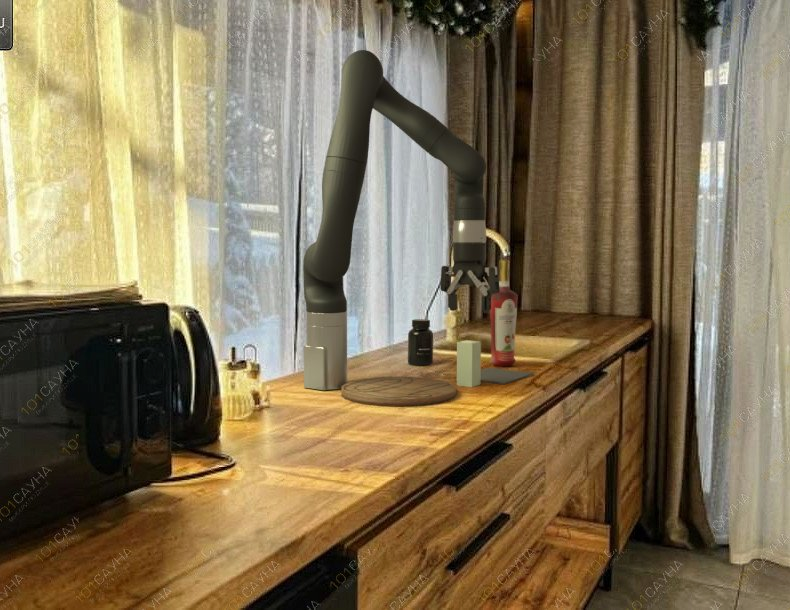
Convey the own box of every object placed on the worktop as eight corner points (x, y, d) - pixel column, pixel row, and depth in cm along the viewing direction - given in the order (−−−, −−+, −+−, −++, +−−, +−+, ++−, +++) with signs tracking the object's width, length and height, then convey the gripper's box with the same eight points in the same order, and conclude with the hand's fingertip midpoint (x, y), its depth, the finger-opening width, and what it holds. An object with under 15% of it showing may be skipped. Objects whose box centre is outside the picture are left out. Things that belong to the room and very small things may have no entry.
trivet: (476, 392, 168) (476, 384, 168) (415, 414, 147) (415, 404, 147) (384, 380, 182) (384, 372, 182) (317, 398, 161) (317, 390, 161)
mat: (503, 384, 175) (503, 382, 175) (455, 378, 183) (455, 376, 183) (534, 374, 188) (534, 372, 188) (488, 369, 195) (488, 367, 195)
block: (471, 387, 172) (472, 343, 171) (456, 385, 174) (457, 341, 173) (480, 384, 175) (480, 341, 174) (465, 382, 178) (465, 339, 177)
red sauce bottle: (509, 362, 205) (511, 259, 203) (521, 367, 198) (522, 260, 196) (484, 363, 203) (485, 260, 201) (495, 368, 196) (496, 260, 194)
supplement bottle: (423, 367, 198) (423, 321, 197) (402, 364, 202) (402, 320, 201) (438, 363, 204) (438, 319, 203) (417, 361, 208) (417, 317, 207)
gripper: (434, 240, 173) (434, 311, 174) (489, 240, 165) (488, 314, 166) (451, 240, 179) (451, 308, 181) (505, 240, 171) (504, 311, 172)
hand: (469, 311), depth 173 cm, fingers open, 8 cm apart
